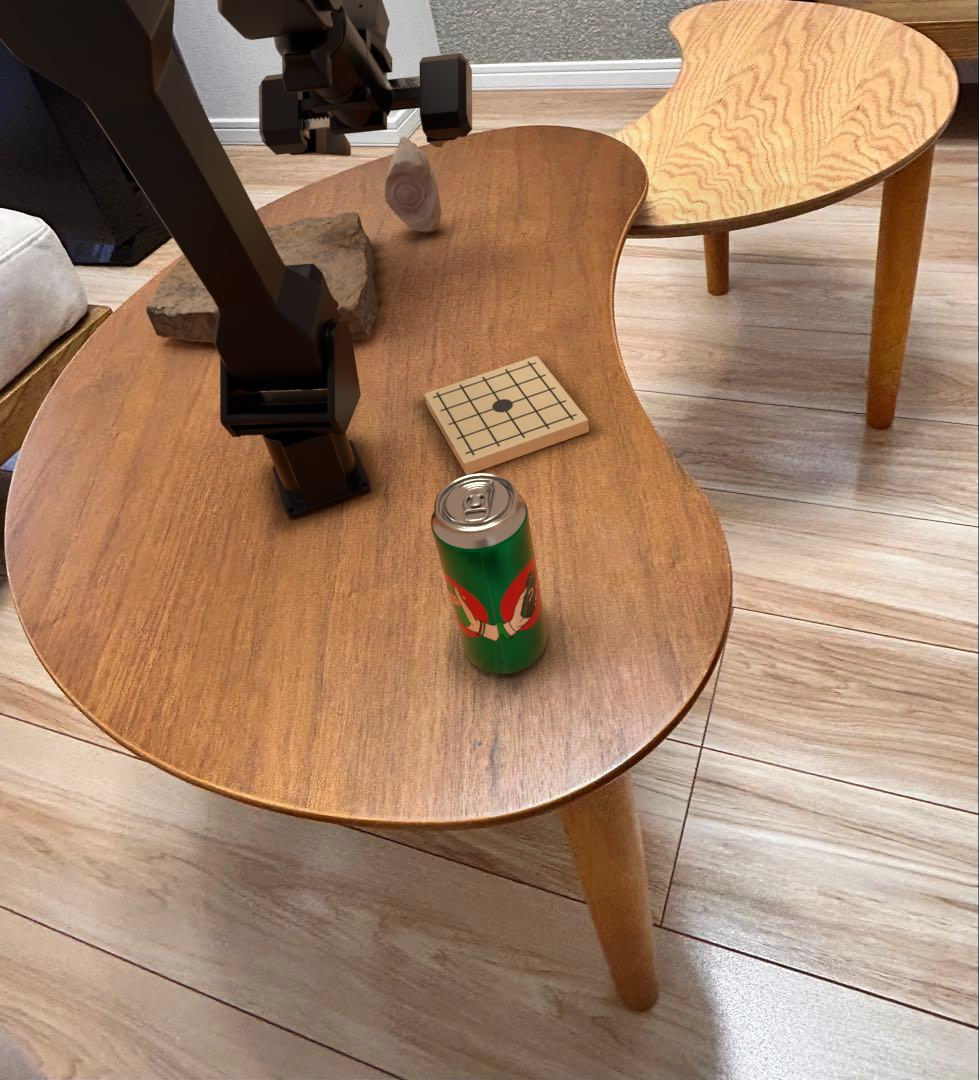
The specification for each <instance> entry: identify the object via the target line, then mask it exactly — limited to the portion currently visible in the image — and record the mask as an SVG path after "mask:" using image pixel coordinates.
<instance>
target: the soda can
mask: <svg viewBox="0 0 979 1080" xmlns="http://www.w3.org/2000/svg"><path fill="white" fill-rule="evenodd" d="M430 528H431V531H432V536H433V539H434V544H435V547H436V550H437V553H438V558H439V561H440V565H441V569H442V572H443V576H444V580H445V584H446V587H447V591H448V595H449V598H450V602H451V605H452V609H453V613H454V617H455V620H456V624H457V628H458V632H459V635H460V639H461V642H462V646H463V650H464V653H465V655H466V657H467V659H468V660H469V661H470V662H471V664H472V665H474V666H475V667H477V668H478V669H479V670H482V671H484V672H487V673H492V674H497V675H498V674H499V675H504V674H505V675H507V674H508V675H509V674H513V673H517V672H519V671H522V670H524V669H526V668H528V667H530V666H531V665H533V663H536V661H537V660H538V659H539V658H540V657H541V656H542V654H543V653H544V651H545V649H546V646H547V642H548V630H547V625H546V618H545V617H546V616H545V611H544V606H543V599H542V593H541V587H540V586H541V585H540V580H539V573H538V567H537V560H536V555H535V548H534V541H533V535H532V529H531V521H530V515H529V508H528V505H527V503H526V501H525V498H524V497H523V496H522V495H521V494H520V493H519V492H518V490H517V489H516V487H515V485H514V484H513V483H512V482H511V481H510V480H509V479H508V478H505V477H503V476H501V475H498V474H495V473H490V472H478V473H477V472H475V473H472V474H469V475H466V474H465V475H463V476H461V477H458V478H455V479H453V480H452V481H450V482H449V483H448V484H446V485H445V486H444V487H442V489H441V490H440V491H439V492H438V494H437V496H436V498H435V500H434V506H433V512H432V514H431V519H430Z"/></svg>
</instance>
